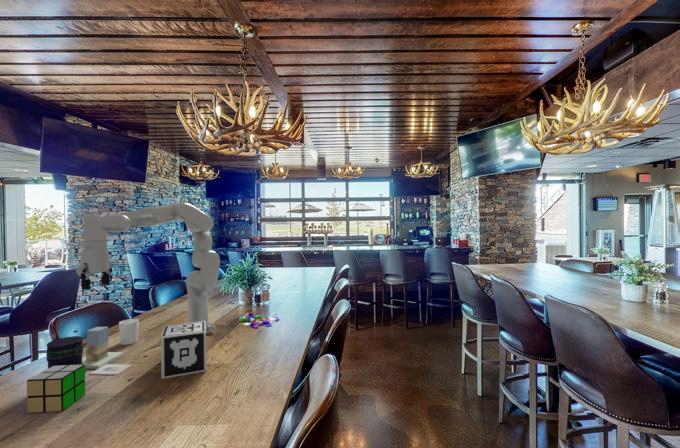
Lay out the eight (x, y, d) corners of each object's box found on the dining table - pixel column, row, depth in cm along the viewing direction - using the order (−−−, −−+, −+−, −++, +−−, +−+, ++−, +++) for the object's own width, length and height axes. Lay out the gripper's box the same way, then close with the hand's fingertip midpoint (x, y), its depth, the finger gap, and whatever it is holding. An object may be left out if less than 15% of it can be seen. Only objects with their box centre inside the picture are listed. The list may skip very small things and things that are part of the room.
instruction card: (132, 365, 127) (132, 364, 127) (117, 375, 119) (117, 373, 119) (106, 364, 128) (106, 363, 128) (89, 374, 120) (89, 373, 120)
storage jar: (42, 393, 106) (41, 339, 106) (51, 380, 115) (51, 330, 115) (80, 386, 111) (79, 334, 111) (86, 374, 120) (86, 326, 120)
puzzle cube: (53, 396, 105) (53, 365, 105) (86, 394, 106) (85, 364, 106) (26, 414, 95) (25, 380, 95) (62, 412, 96) (62, 378, 96)
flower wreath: (284, 325, 178) (284, 317, 178) (245, 331, 168) (245, 322, 168) (272, 314, 200) (272, 306, 200) (237, 318, 191) (237, 311, 191)
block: (165, 362, 130) (165, 325, 130) (205, 356, 136) (205, 320, 136) (161, 379, 116) (160, 337, 116) (206, 371, 122) (206, 331, 122)
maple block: (107, 355, 134) (107, 341, 134) (97, 360, 129) (97, 345, 129) (96, 355, 134) (96, 341, 134) (86, 360, 129) (85, 345, 129)
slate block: (108, 341, 134) (108, 326, 134) (98, 345, 129) (98, 330, 129) (97, 341, 134) (96, 326, 134) (86, 345, 129) (86, 330, 129)
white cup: (129, 346, 148) (129, 324, 148) (114, 344, 149) (114, 323, 149) (143, 339, 155) (142, 319, 155) (129, 338, 157) (128, 318, 157)
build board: (123, 355, 137) (123, 352, 137) (99, 368, 124) (99, 365, 124) (94, 354, 138) (94, 351, 138) (67, 368, 125) (67, 364, 125)
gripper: (103, 243, 140) (104, 283, 140) (67, 246, 123) (68, 291, 123) (120, 243, 140) (120, 283, 140) (86, 246, 122) (86, 291, 122)
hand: (96, 287), depth 131 cm, fingers open, 9 cm apart
